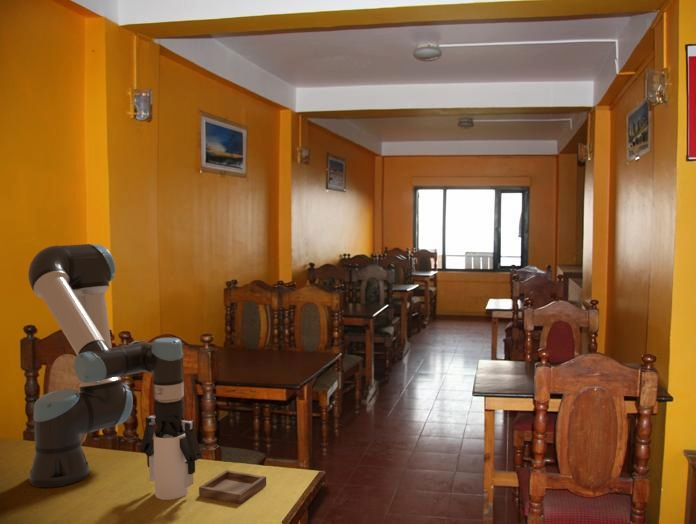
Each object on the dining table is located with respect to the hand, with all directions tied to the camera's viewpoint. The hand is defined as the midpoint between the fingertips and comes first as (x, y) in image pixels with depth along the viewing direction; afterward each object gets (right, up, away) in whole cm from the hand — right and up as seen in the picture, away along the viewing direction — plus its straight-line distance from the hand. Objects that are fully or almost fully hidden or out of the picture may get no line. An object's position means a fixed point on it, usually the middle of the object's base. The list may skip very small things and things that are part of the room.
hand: (171, 482), depth 170 cm
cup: (0, -3, 0) cm, 3 cm away
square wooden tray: (+16, -3, +2) cm, 16 cm away
